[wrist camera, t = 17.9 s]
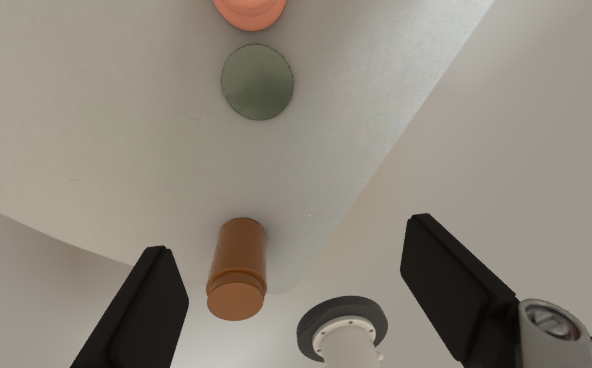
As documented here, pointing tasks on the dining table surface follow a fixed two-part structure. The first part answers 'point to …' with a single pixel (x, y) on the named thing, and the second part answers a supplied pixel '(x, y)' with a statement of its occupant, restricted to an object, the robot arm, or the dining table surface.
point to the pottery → (250, 12)
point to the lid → (257, 82)
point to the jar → (238, 271)
